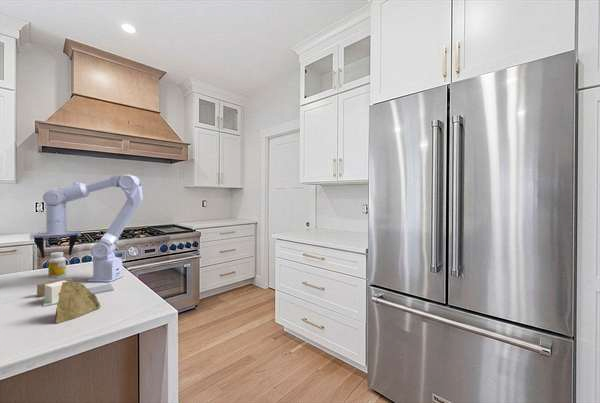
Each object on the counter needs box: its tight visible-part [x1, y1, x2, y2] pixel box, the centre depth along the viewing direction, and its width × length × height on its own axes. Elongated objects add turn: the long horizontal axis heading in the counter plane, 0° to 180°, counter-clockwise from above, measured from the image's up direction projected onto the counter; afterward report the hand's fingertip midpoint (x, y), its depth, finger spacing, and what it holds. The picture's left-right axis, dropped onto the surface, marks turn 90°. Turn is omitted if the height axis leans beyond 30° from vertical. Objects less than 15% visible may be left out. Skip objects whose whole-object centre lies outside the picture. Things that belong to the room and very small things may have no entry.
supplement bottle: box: [47, 251, 67, 279], centre depth 113 cm, size 5×5×10 cm
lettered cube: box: [44, 279, 67, 303], centre depth 88 cm, size 5×5×5 cm
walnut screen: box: [36, 278, 73, 298], centre depth 94 cm, size 9×3×4 cm, turn 132°
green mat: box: [43, 298, 58, 307], centre depth 88 cm, size 7×7×1 cm
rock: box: [54, 280, 101, 325], centre depth 78 cm, size 11×9×10 cm
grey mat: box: [86, 283, 114, 295], centre depth 98 cm, size 7×7×1 cm
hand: (56, 256), depth 104 cm, fingers open, 7 cm apart
